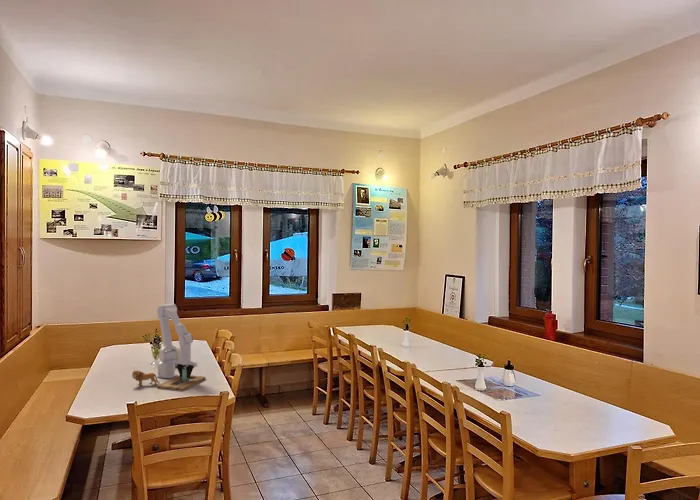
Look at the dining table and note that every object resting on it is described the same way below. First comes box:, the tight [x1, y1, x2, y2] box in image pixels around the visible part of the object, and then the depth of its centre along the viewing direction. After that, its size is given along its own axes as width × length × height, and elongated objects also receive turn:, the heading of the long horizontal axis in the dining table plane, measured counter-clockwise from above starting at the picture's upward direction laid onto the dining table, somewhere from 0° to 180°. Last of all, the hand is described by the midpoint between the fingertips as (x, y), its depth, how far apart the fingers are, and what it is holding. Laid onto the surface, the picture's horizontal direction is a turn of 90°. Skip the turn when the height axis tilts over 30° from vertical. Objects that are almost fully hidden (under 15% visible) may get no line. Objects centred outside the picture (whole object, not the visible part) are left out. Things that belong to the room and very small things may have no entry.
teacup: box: [167, 347, 181, 367], centre depth 326 cm, size 12×15×10 cm
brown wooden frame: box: [156, 374, 206, 392], centre depth 285 cm, size 16×24×2 cm, turn 166°
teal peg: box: [181, 367, 190, 383], centre depth 288 cm, size 4×4×7 cm
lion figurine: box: [131, 370, 161, 387], centre depth 281 cm, size 15×5×9 cm, turn 119°
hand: (185, 377), depth 287 cm, fingers closed on teal peg, 4 cm apart
